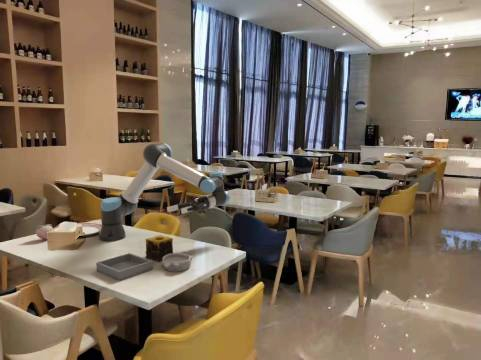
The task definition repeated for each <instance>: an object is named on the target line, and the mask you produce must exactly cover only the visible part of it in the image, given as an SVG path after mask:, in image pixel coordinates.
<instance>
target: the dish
mask: <svg viewBox="0 0 481 360" xmlns="http://www.w3.org/2000/svg"><path fill="white" fill-rule="evenodd" d="M192 260H193V257H192V255H189V254H185V253H182V252H181V253H179V252H173V253H171V254H167V255H165V256H164V257H163V259H162V261H161V262H162V265H163V268H164V269H165V270H167V271H169V272H183V271H185V270H188V269H189V268H190V267H191V264H192Z"/></svg>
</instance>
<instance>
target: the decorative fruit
mask: <svg viewBox="0 0 481 360" xmlns="http://www.w3.org/2000/svg"><path fill="white" fill-rule="evenodd" d="M51 230H53V231H54V228H53V225H52V224H49V223H45V222H44V223H43V225H42V224H41V225H38V226H36V230H35V234H36V236H37V237H38V238H39V239H41V240H45V241H46V240H48V239H47V232H49V231H51Z"/></svg>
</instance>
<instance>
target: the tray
mask: <svg viewBox="0 0 481 360" xmlns="http://www.w3.org/2000/svg"><path fill="white" fill-rule="evenodd" d="M95 263H96V266H95V267H96V272H98V273H100V274H103V275H105V276H107V277H110V278H112V279H114V280H117V281H118V282H119V281H122V280H126V279H128V278H131V277H134V276H137V275H139V274H144V273H147V272H149V271H151V270H153V260H151V259H149V258H146V257H145V258H144V257H141V256H139V255H136V254H133V253H130V252H128V253H125V254H121V255H118V256H114V257H111V258H107V259H103V260H100V261H97V262H95Z"/></svg>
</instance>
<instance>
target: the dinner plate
mask: <svg viewBox="0 0 481 360" xmlns="http://www.w3.org/2000/svg"><path fill="white" fill-rule="evenodd" d="M76 223H77V224H81V225H82V227H83V231H84V232H85V235H86V236H85V237H88V236H93V235H96V234H99V233H100V230H101V226H102V223H97V222H76Z"/></svg>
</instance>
